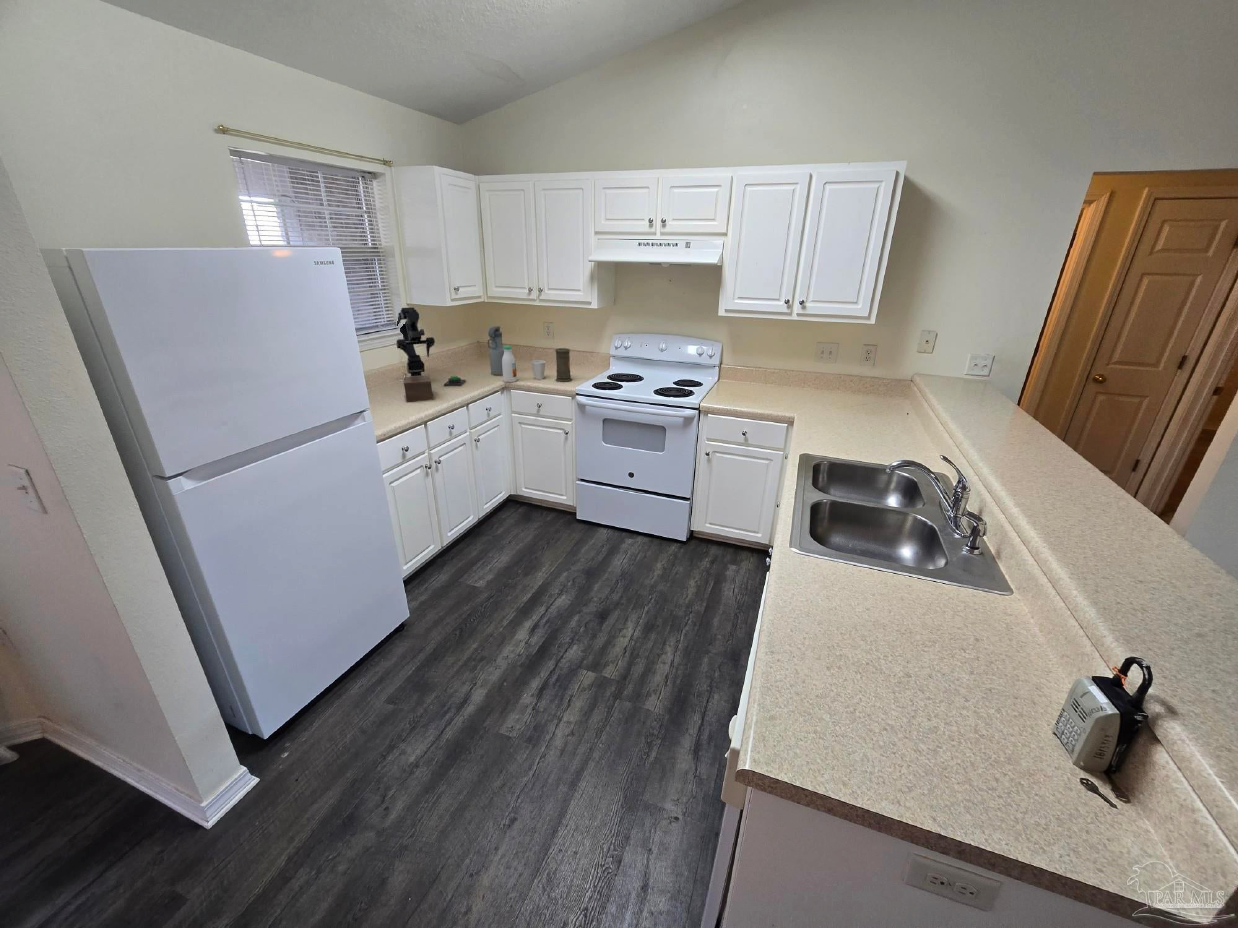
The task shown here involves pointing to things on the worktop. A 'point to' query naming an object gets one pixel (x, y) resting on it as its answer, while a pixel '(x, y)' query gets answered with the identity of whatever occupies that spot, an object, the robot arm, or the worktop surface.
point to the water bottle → (496, 350)
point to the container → (563, 365)
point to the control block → (454, 382)
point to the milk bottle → (509, 365)
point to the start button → (454, 377)
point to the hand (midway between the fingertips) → (419, 358)
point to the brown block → (418, 388)
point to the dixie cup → (538, 368)
